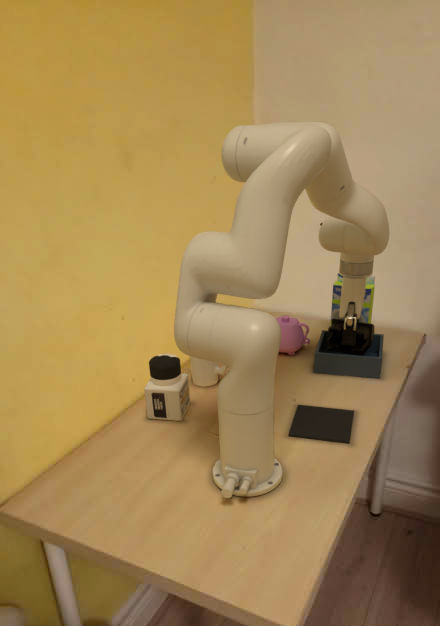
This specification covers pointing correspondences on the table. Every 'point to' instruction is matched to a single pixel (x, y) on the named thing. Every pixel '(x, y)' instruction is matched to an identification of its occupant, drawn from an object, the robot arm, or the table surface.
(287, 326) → the teapot
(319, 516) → the table surface
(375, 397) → the table surface
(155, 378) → the container
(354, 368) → the bin
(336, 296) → the box
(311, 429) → the mat
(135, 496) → the table surface
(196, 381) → the mug
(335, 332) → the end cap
